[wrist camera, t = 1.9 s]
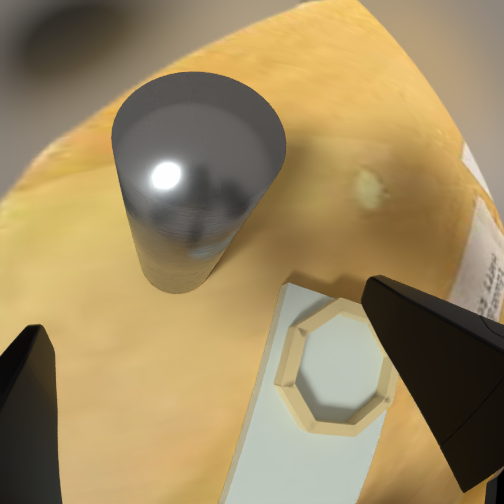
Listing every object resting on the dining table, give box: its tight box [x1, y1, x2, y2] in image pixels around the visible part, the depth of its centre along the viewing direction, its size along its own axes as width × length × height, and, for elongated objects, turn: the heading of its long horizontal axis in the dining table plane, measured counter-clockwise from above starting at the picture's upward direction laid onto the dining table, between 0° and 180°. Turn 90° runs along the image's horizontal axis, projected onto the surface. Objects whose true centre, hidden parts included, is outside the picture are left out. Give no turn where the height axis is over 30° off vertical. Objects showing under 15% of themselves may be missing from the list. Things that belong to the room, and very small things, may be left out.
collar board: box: [218, 282, 399, 504], centre depth 17 cm, size 17×10×2 cm, turn 164°
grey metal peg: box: [111, 72, 286, 294], centre depth 13 cm, size 5×5×12 cm
